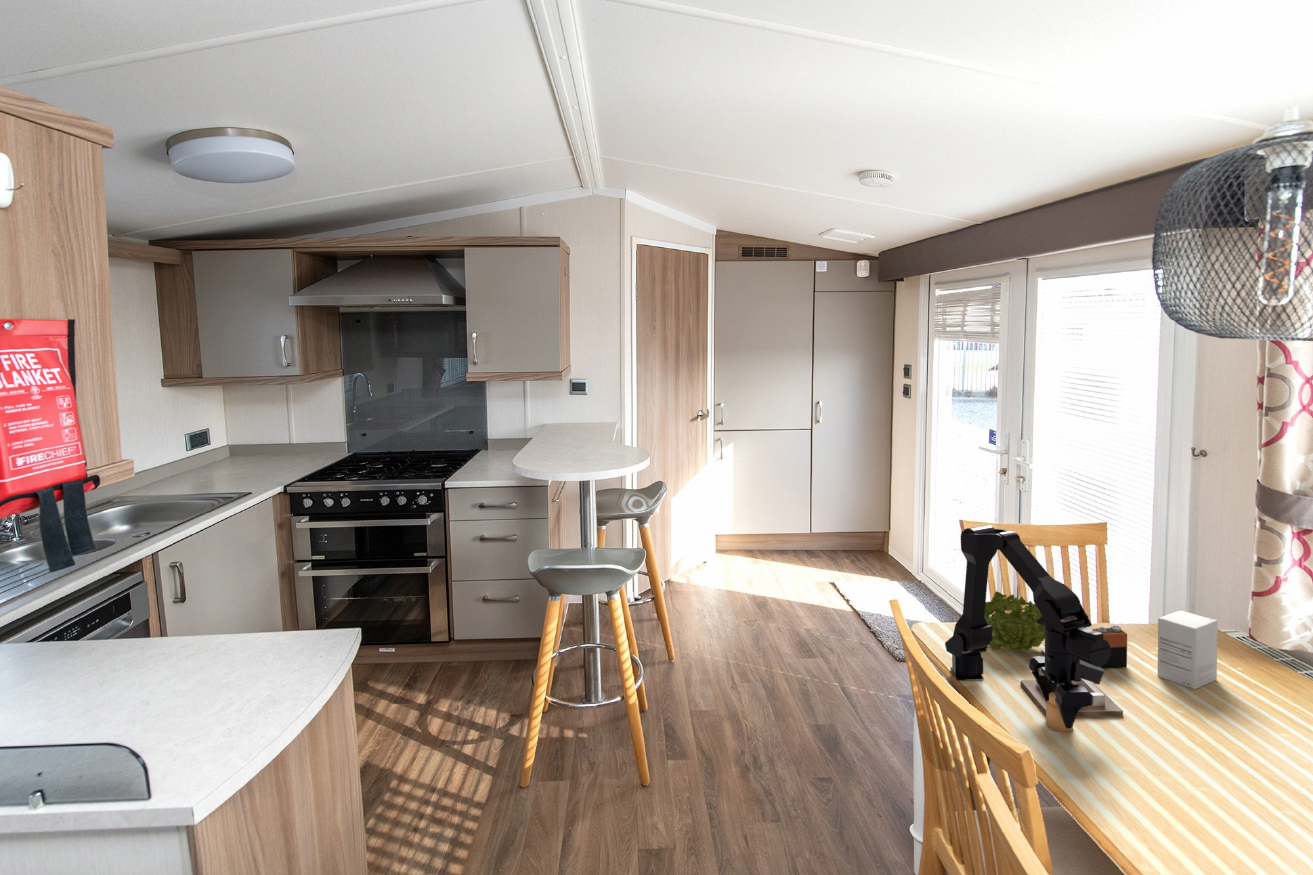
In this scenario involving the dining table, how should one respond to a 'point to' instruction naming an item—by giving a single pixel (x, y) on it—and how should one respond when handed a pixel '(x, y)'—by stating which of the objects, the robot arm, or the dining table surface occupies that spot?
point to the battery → (1115, 646)
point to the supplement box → (1187, 649)
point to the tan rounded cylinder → (1054, 716)
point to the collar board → (1099, 707)
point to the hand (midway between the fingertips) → (1059, 717)
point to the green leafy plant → (1014, 623)
